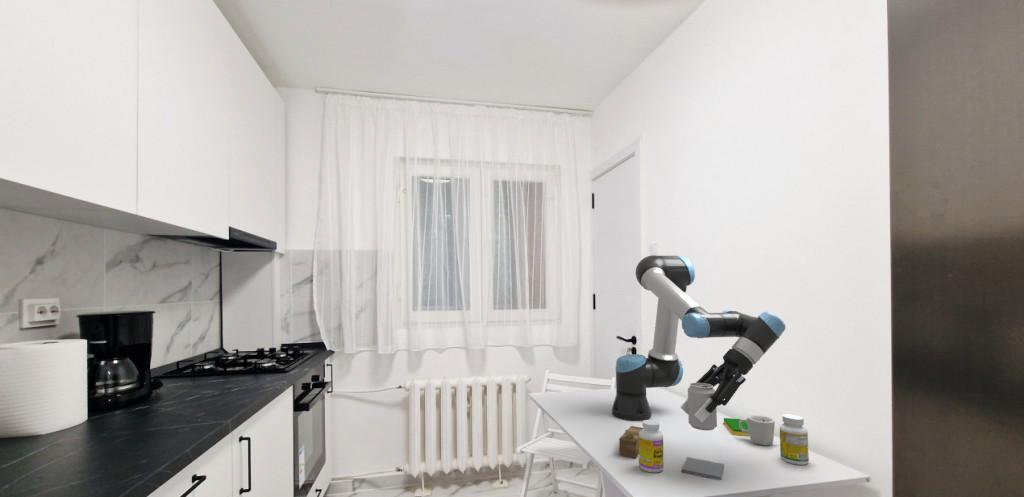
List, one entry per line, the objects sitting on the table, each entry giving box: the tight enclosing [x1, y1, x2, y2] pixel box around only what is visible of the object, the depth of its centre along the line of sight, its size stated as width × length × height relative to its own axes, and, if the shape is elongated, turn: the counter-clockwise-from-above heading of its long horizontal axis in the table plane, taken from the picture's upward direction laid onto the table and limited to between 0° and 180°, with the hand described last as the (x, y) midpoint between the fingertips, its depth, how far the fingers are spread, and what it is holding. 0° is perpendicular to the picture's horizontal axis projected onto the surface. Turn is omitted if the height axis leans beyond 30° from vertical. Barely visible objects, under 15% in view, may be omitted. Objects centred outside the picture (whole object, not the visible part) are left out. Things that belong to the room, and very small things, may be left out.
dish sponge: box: [723, 417, 750, 437], centre depth 160 cm, size 7×14×2 cm, turn 167°
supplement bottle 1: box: [638, 419, 664, 473], centre depth 126 cm, size 7×7×13 cm
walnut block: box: [618, 425, 643, 460], centre depth 140 cm, size 14×5×7 cm, turn 150°
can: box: [687, 382, 718, 432], centre depth 126 cm, size 8×8×12 cm
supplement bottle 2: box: [779, 413, 810, 466], centre depth 132 cm, size 7×7×13 cm
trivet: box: [681, 456, 725, 481], centre depth 125 cm, size 10×10×1 cm
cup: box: [739, 414, 776, 446], centre depth 147 cm, size 11×8×8 cm
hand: (690, 414), depth 126 cm, fingers closed on can, 7 cm apart
